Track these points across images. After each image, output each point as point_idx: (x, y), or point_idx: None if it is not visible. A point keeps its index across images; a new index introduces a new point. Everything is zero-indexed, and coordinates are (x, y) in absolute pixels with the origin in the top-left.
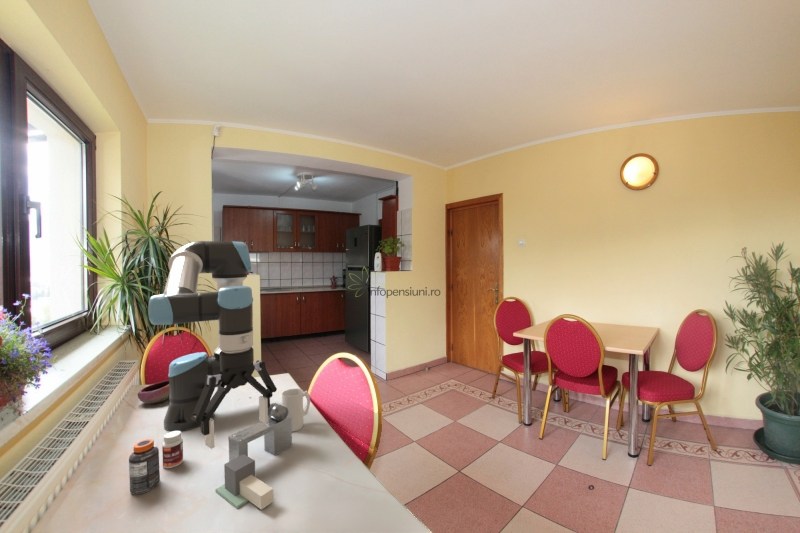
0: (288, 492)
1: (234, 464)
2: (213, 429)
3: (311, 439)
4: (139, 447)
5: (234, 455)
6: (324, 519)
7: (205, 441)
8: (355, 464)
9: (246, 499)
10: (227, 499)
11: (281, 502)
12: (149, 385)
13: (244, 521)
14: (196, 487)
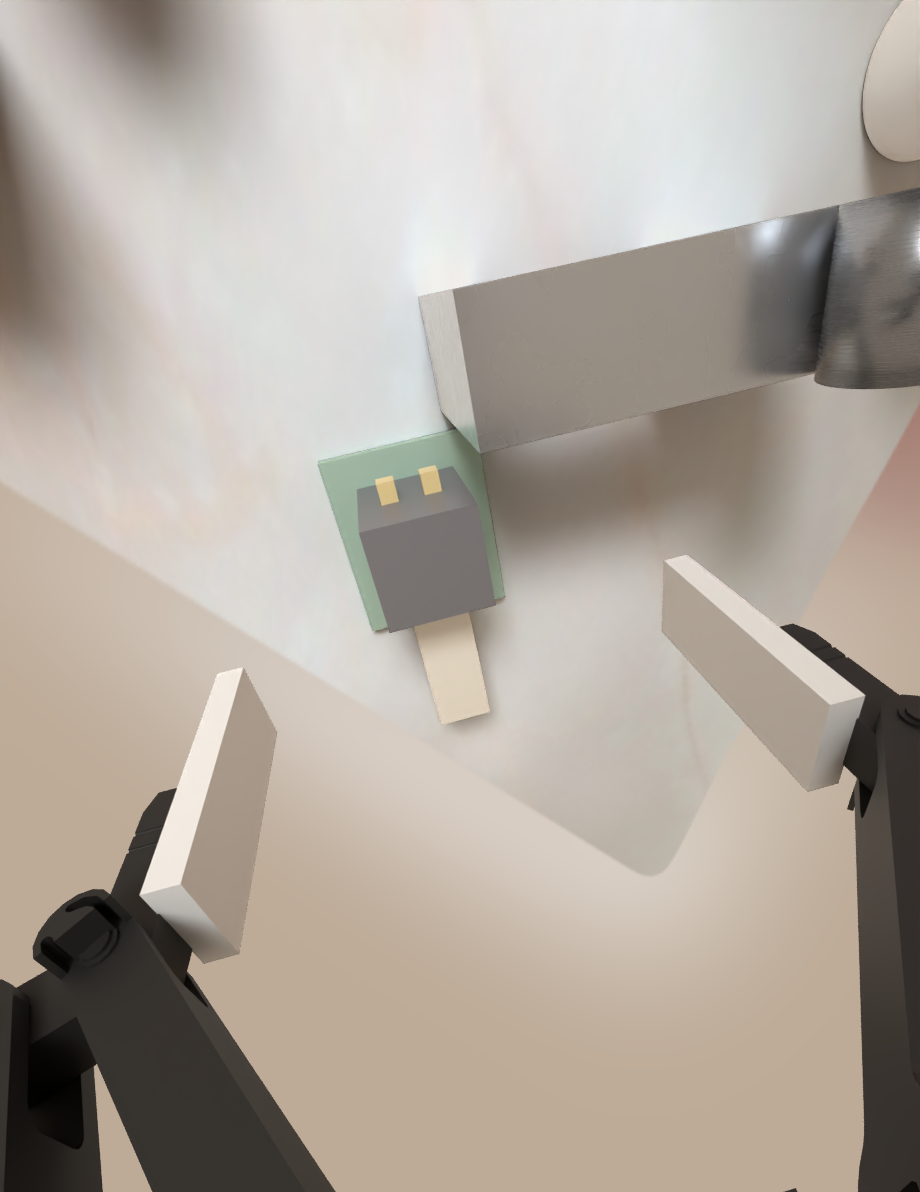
0: (540, 653)
1: (403, 573)
2: (251, 856)
3: None
4: None
5: (447, 374)
6: (548, 794)
7: (211, 694)
8: None
9: None
10: (351, 566)
11: (500, 682)
12: None
13: (377, 692)
14: (235, 343)
